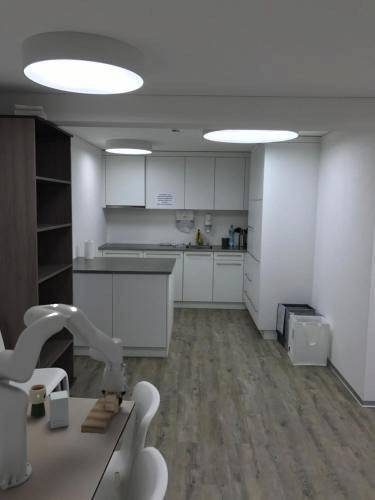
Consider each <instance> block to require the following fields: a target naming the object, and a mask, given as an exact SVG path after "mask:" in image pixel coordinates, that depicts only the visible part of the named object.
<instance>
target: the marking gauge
mask: <svg viewBox="0 0 375 500" xmlns="http://www.w3.org/2000/svg"><path fill="white" fill-rule="evenodd" d="M118 398H119V393H118V391H109V393H108V395H107V396H106V410H109V411H114V413H115V414H117V413H118V411H119V410H120V408H121V405H122V404H123V402H122V403H121V405H120V406H118Z"/></svg>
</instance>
